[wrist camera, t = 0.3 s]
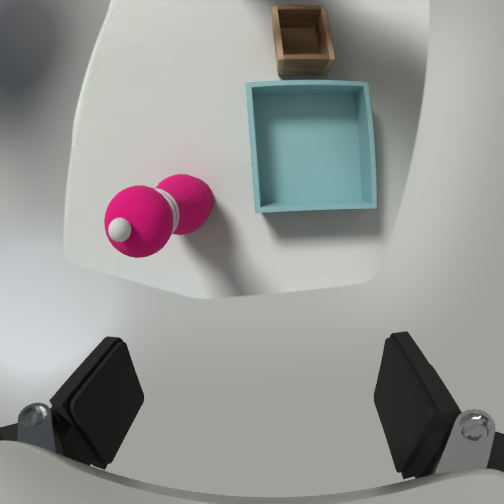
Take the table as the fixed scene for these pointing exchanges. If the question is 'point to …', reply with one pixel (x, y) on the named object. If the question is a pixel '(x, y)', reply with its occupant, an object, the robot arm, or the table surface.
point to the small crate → (302, 40)
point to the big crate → (311, 145)
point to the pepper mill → (156, 214)
